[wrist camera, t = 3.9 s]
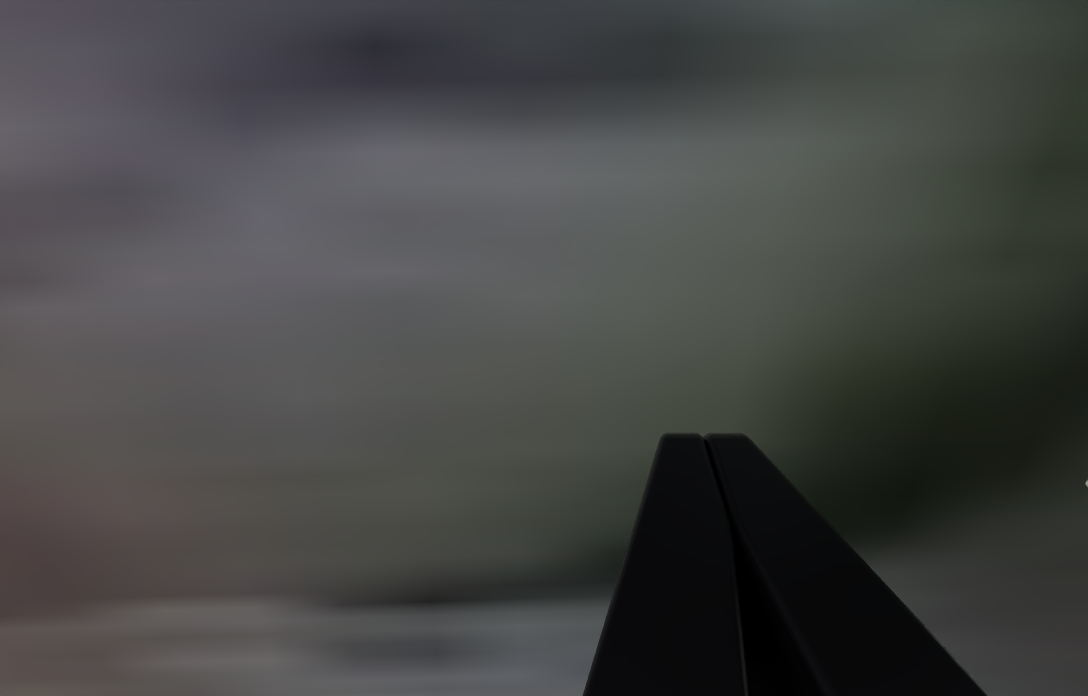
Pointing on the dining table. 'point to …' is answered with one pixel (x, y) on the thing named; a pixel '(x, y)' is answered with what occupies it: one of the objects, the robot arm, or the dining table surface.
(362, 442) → the dining table surface
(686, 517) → the robot arm
